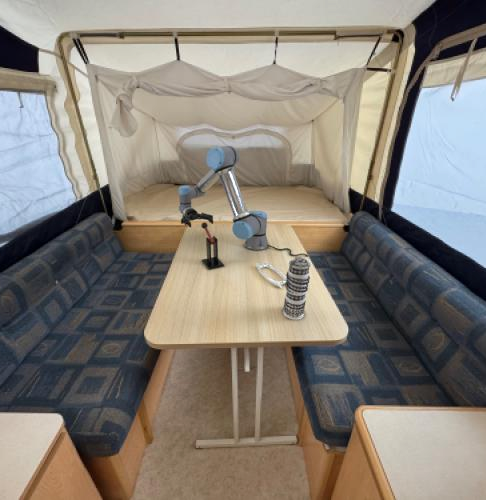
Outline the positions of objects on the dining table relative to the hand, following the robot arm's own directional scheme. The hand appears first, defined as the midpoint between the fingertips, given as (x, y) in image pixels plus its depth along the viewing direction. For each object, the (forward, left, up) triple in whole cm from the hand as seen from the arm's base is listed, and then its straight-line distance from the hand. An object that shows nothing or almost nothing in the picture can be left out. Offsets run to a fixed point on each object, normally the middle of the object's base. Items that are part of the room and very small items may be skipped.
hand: (201, 223), depth 155 cm
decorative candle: (-68, +25, -20) cm, 75 cm away
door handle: (-47, +2, -20) cm, 51 cm away
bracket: (-13, +8, -20) cm, 25 cm away
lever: (-7, +4, -4) cm, 10 cm away
